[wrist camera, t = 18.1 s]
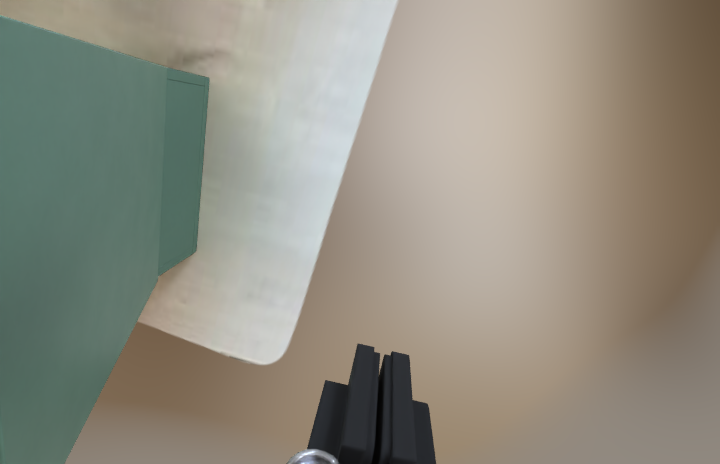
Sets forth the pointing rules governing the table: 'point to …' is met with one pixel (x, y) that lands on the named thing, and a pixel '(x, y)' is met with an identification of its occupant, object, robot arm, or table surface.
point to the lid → (71, 227)
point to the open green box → (182, 166)
